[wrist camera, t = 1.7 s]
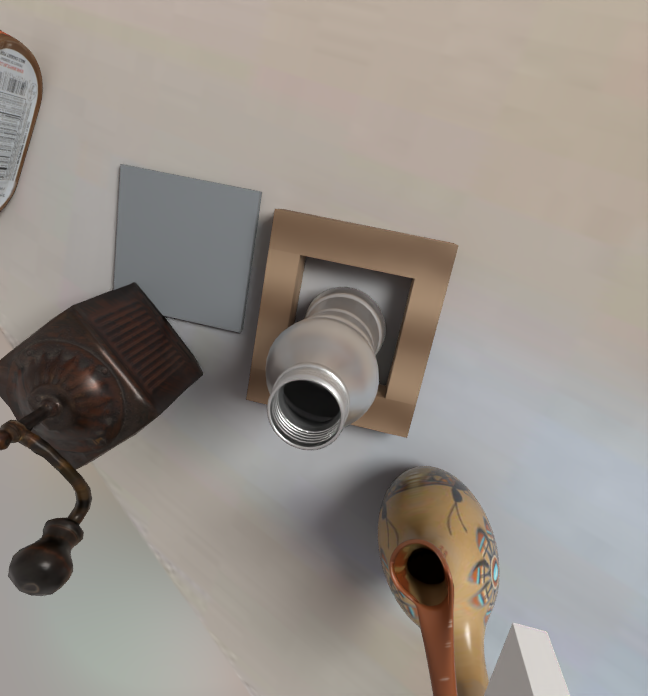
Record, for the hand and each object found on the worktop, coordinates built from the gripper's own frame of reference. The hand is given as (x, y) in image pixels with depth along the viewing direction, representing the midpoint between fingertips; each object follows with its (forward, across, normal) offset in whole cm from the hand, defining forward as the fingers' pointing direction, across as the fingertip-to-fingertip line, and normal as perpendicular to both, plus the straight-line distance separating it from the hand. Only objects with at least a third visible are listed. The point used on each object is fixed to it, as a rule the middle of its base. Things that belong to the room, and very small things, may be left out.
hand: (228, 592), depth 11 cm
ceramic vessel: (+31, -11, +15) cm, 36 cm away
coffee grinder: (+30, +17, +10) cm, 36 cm away
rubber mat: (+31, +15, -3) cm, 34 cm away
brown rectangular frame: (+31, 0, 0) cm, 31 cm away
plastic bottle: (+31, 0, 0) cm, 31 cm away
